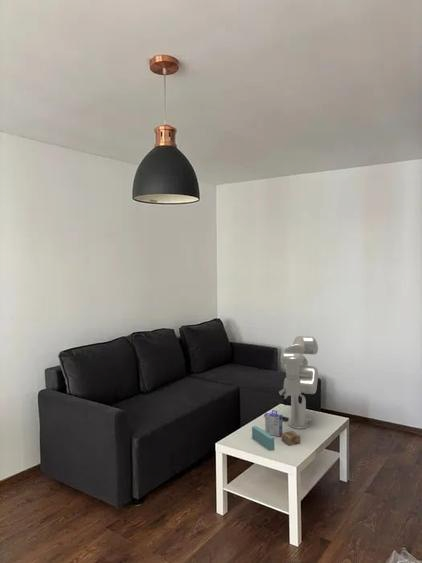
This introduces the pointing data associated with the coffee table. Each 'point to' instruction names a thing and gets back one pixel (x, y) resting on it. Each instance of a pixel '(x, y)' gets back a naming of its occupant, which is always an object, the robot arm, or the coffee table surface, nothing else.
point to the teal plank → (263, 437)
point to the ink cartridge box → (273, 424)
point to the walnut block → (291, 438)
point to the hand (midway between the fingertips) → (292, 404)
